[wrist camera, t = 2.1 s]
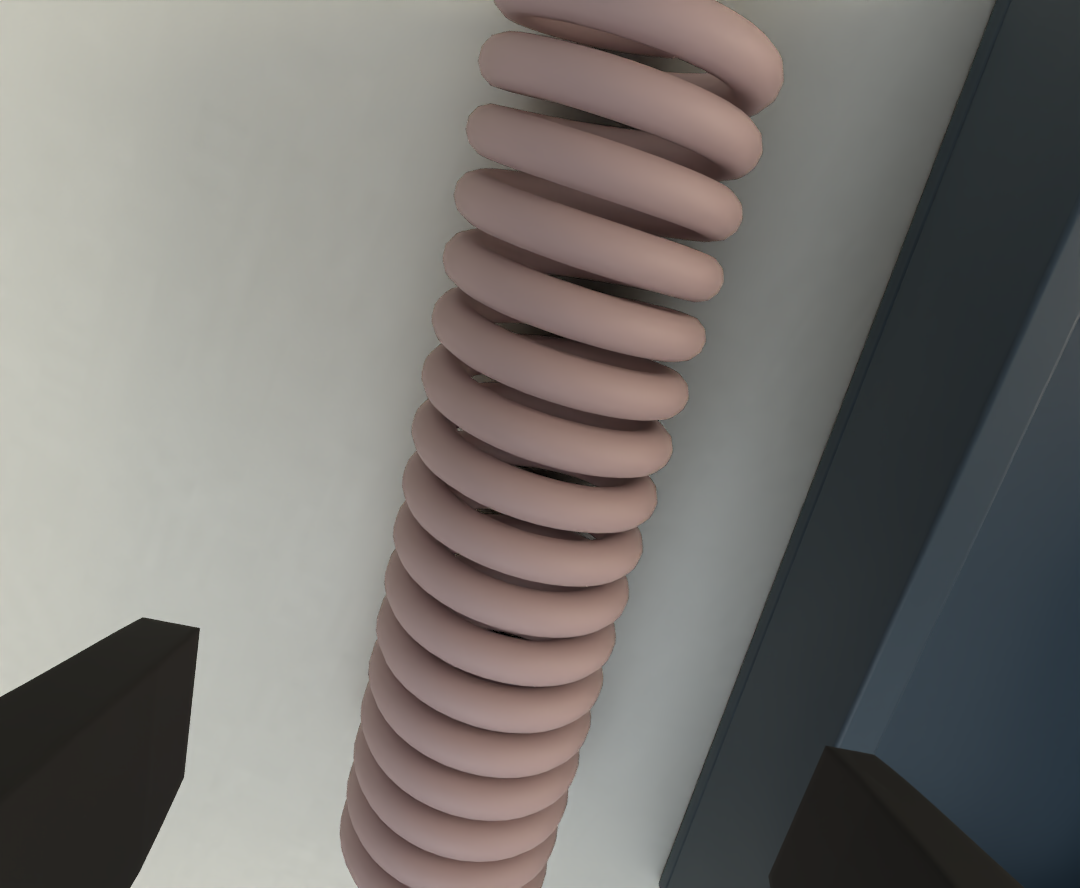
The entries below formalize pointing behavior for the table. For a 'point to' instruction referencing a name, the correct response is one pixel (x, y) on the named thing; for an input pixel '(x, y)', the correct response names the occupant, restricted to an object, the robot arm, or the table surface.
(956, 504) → the bin
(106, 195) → the table surface
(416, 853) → the coil
